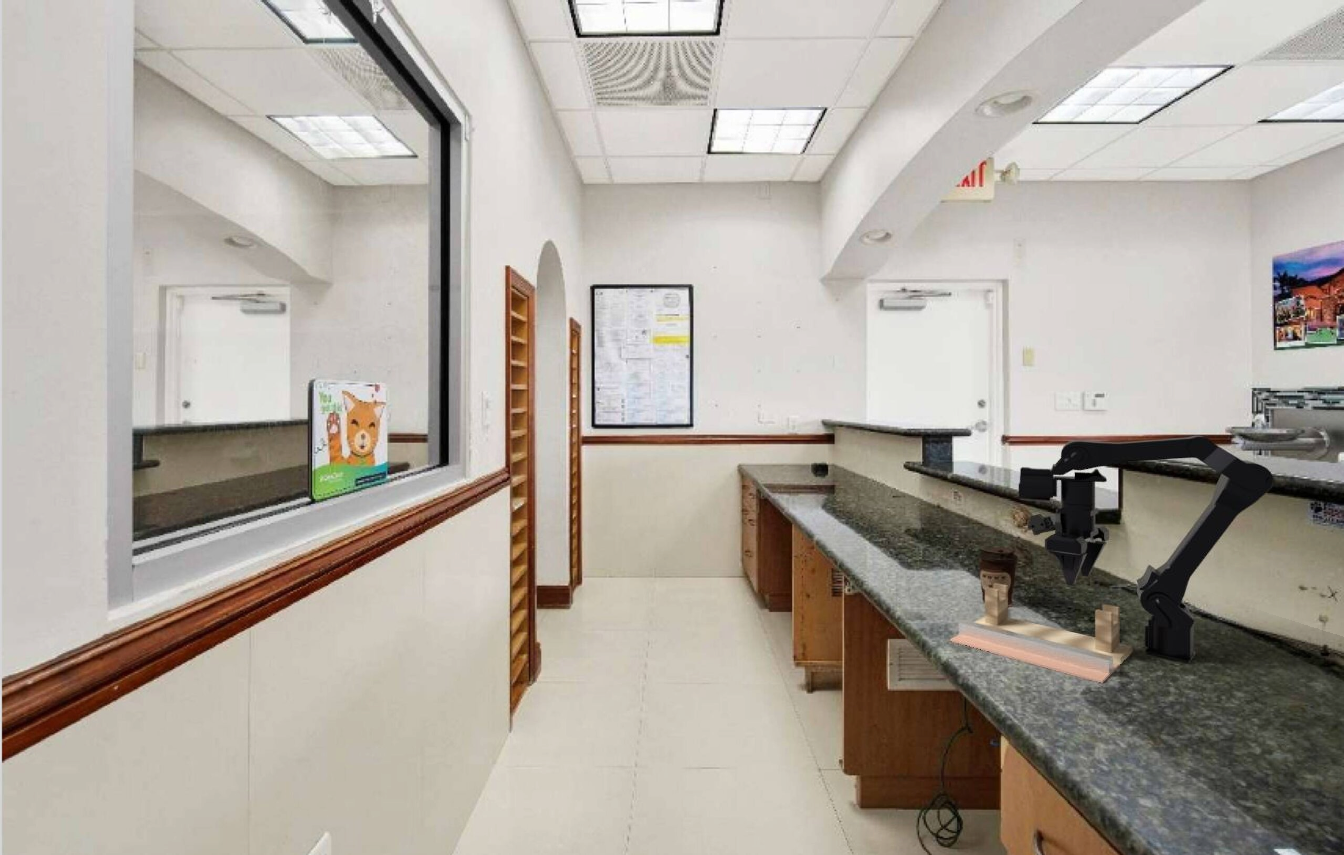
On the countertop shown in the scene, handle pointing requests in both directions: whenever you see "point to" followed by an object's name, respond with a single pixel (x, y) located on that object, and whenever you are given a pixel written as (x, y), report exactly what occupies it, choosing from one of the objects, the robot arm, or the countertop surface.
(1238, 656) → the countertop surface
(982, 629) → the steel rail
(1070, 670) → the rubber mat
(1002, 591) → the hook stand
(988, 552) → the coffee cup
